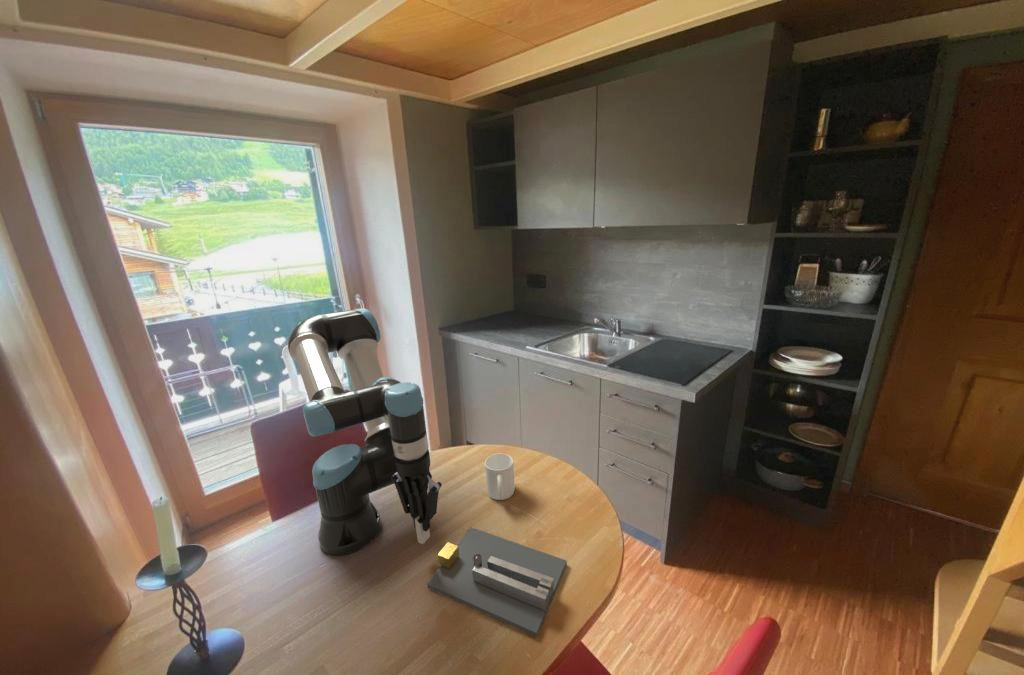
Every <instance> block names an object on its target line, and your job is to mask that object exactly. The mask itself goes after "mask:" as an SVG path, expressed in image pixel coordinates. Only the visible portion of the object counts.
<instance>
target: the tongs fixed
mask: <svg viewBox="0 0 1024 675" xmlns="http://www.w3.org/2000/svg"><path fill="white" fill-rule="evenodd" d="M473 560H474V568H473V569H472V575H473V581H475V582H477V583H480V584H482V585H484V586H487V587H489V588H492V589H494V590H496V591H499V592H501V593H504V594H506V595H508V596H511V597H513V598H516V599H518V600H520V601H523V602H525V603H528V604H530V605H532V606H535V607H537V608H540V609H542V610H544V611H546V608H547V606H548V604H549V590H548V589H545V588H542V587H540V586H538V587H537V588H535V587H532V586H529V585H527V584H524V583H522V582H519V581H517V580H514V579H512V578H509V577H507V576H504V575H502V574H499V573H496V572H494V571H491V570H489V569H486V568H484V567H482V558H481V555H480V554H476V555H474V557H473Z"/></svg>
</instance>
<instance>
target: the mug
mask: <svg viewBox="0 0 1024 675" xmlns="http://www.w3.org/2000/svg"><path fill="white" fill-rule="evenodd" d="M514 467H515V466H514V459H513V457H511V456H510V455H509V454H506V453H500V452H499V453H494V454H491V455H489V456H488V457H487V458H485V461H484V471H485V472H484V473H485V485H486V492H487V495H488V496H489V497H490V498H491V499H493V500H495V501H503V500H508V499H510V498H511V497H512V496H513V494H514V492H515V488H516V487H515V470H514Z"/></svg>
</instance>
